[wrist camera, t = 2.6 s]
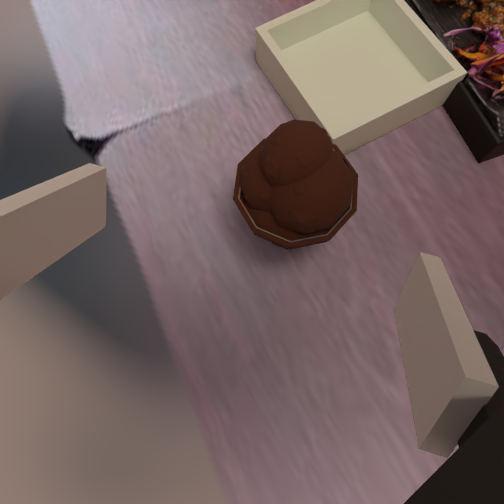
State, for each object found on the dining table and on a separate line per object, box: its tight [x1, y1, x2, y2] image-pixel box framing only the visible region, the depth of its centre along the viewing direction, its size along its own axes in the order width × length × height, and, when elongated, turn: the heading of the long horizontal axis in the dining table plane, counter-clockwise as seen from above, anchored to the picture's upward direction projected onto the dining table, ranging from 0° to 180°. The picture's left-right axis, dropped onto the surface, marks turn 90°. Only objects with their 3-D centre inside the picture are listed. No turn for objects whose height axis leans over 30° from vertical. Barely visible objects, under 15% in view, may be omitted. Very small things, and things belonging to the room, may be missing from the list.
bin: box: [255, 0, 468, 155], centre depth 46 cm, size 17×17×5 cm
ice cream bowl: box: [233, 120, 358, 249], centre depth 36 cm, size 11×11×15 cm
